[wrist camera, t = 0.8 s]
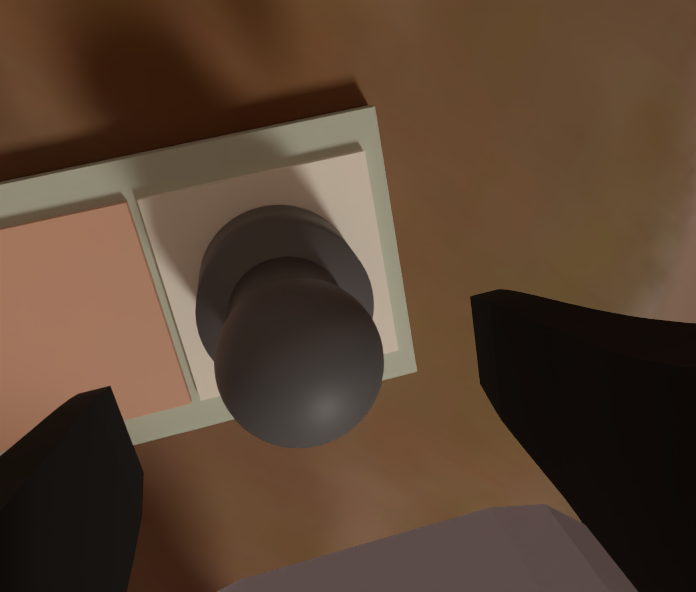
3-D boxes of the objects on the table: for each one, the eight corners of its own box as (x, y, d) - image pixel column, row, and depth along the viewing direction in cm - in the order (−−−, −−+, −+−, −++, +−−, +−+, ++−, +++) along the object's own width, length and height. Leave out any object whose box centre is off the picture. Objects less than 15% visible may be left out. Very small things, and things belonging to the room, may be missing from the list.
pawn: (366, 331, 19) (442, 469, 12) (222, 368, 19) (221, 532, 12) (339, 189, 17) (411, 260, 11) (179, 224, 17) (151, 323, 10)
